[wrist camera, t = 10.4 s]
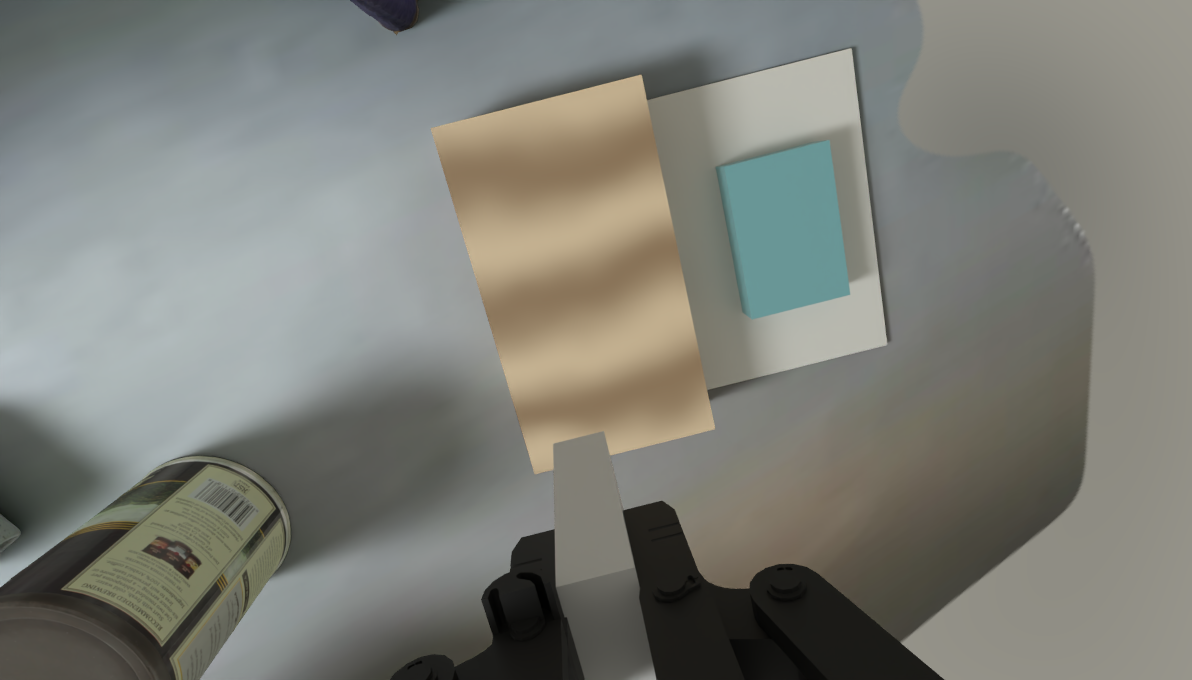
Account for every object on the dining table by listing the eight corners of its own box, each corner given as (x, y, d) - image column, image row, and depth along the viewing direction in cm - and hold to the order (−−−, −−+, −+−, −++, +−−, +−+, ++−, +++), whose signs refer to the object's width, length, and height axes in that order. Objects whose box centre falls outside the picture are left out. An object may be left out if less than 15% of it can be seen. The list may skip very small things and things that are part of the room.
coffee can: (122, 577, 42) (-89, 774, 28) (137, 438, 39) (-86, 580, 26) (280, 607, 43) (152, 809, 29) (305, 475, 40) (177, 628, 27)
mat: (884, 343, 40) (887, 344, 40) (704, 388, 40) (705, 390, 40) (849, 48, 36) (851, 47, 35) (644, 100, 36) (645, 100, 35)
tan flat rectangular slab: (700, 404, 41) (715, 429, 37) (536, 445, 41) (534, 474, 37) (632, 85, 35) (641, 74, 32) (444, 132, 35) (430, 128, 32)
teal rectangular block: (752, 319, 37) (742, 312, 39) (850, 294, 37) (835, 288, 39) (724, 166, 35) (715, 166, 37) (829, 139, 35) (815, 141, 37)
